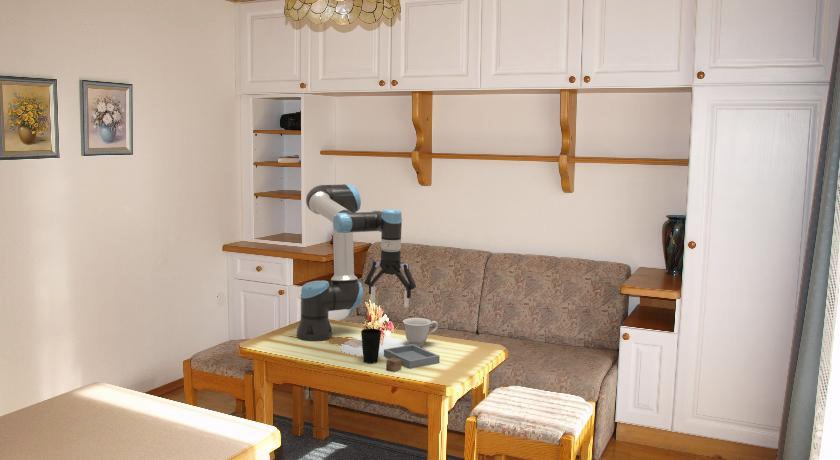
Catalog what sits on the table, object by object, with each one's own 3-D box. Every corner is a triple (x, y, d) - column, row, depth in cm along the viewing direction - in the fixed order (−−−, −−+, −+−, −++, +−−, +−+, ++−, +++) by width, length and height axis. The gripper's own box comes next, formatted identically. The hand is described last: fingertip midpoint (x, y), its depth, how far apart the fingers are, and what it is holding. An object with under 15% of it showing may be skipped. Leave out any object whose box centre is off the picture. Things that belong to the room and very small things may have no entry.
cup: (377, 365, 292) (378, 334, 291) (358, 363, 294) (358, 333, 292) (382, 359, 300) (383, 329, 298) (363, 357, 301) (364, 327, 300)
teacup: (440, 347, 317) (441, 324, 316) (405, 349, 314) (406, 325, 312) (433, 339, 329) (434, 316, 328) (399, 341, 325) (400, 318, 324)
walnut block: (386, 370, 287) (386, 359, 286) (392, 367, 290) (392, 357, 290) (394, 372, 285) (395, 362, 284) (401, 369, 288) (401, 359, 287)
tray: (383, 356, 304) (383, 349, 303) (412, 350, 312) (412, 344, 312) (409, 368, 289) (409, 361, 289) (439, 362, 298) (439, 355, 297)
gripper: (356, 248, 292) (355, 303, 295) (418, 254, 284) (417, 310, 287) (364, 246, 299) (363, 299, 302) (425, 251, 291) (423, 305, 294)
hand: (389, 304), depth 294 cm, fingers open, 13 cm apart
